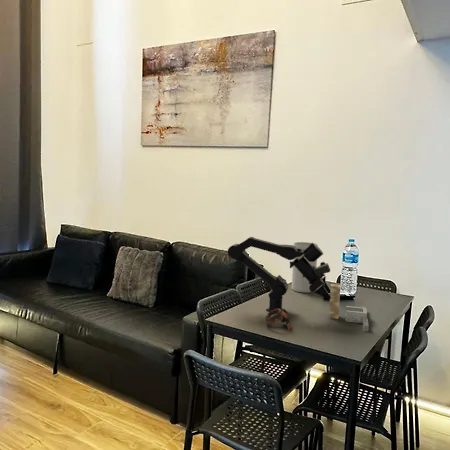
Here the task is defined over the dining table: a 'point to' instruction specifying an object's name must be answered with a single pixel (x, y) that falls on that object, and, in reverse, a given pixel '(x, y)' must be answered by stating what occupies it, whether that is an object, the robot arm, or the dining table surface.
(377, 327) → the dining table surface
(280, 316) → the brown curled piece
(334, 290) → the beech pin
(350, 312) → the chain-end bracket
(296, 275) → the cylinder vase
